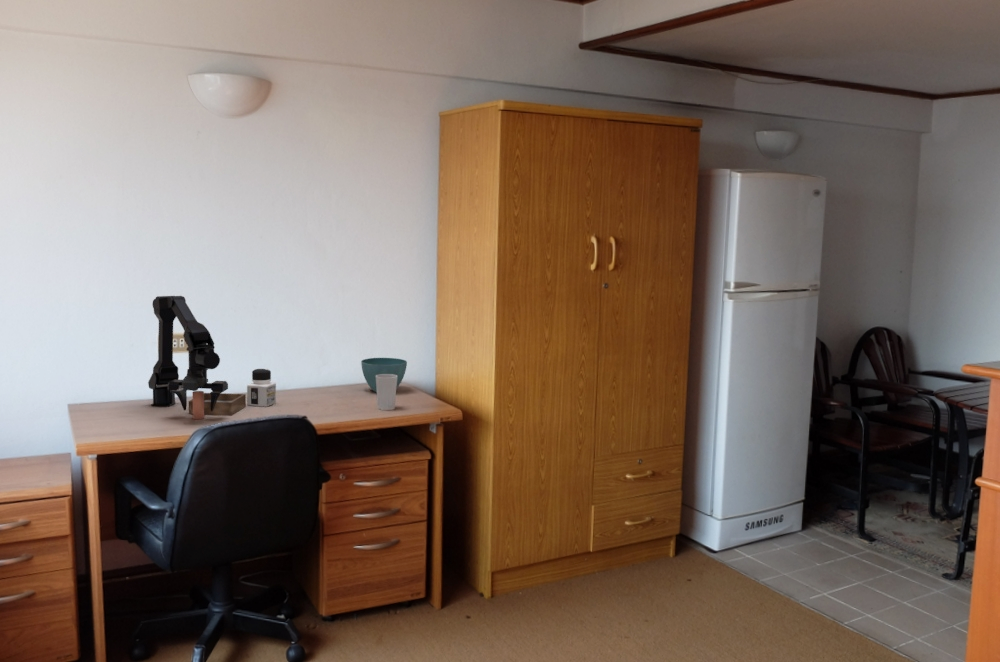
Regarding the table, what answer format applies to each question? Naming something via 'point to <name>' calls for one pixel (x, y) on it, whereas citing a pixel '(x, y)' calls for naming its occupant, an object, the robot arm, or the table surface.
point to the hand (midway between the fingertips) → (198, 410)
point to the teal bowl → (382, 369)
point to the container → (261, 389)
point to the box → (222, 404)
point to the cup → (386, 391)
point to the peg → (198, 404)
